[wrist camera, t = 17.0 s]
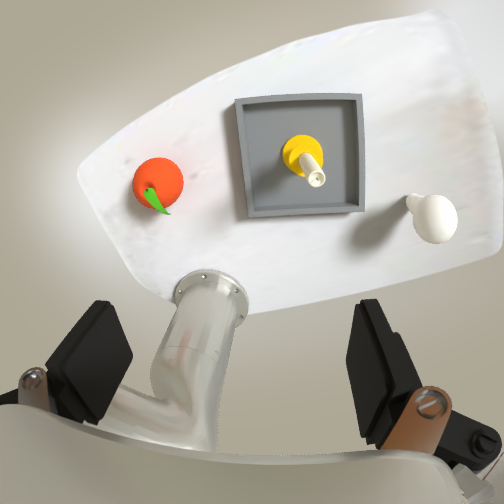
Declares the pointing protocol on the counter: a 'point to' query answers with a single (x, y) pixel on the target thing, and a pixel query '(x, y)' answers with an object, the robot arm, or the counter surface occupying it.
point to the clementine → (158, 183)
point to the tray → (316, 126)
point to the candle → (305, 158)
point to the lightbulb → (432, 217)
